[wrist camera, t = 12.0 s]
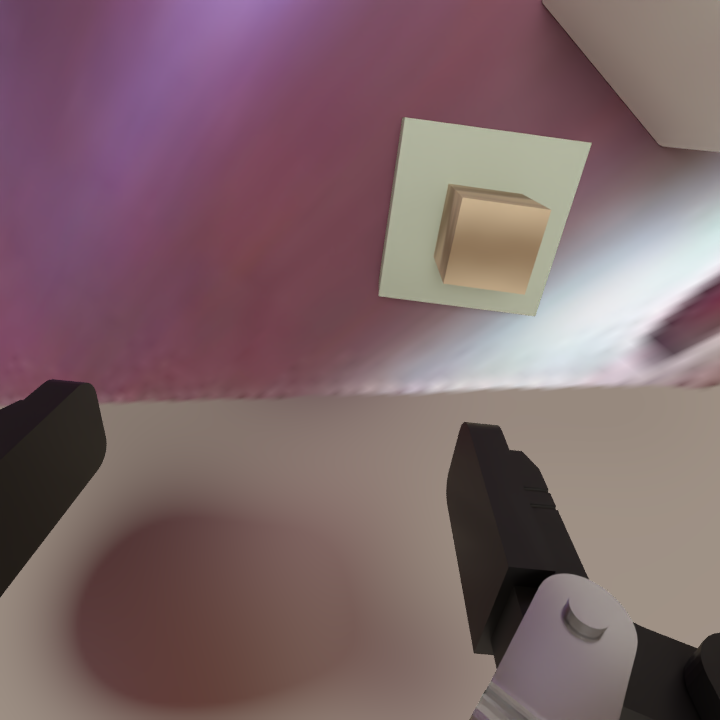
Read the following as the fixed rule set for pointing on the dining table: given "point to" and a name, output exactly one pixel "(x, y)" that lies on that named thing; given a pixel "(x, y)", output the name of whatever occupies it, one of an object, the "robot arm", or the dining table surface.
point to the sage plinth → (481, 170)
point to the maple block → (489, 238)
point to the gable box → (655, 61)
